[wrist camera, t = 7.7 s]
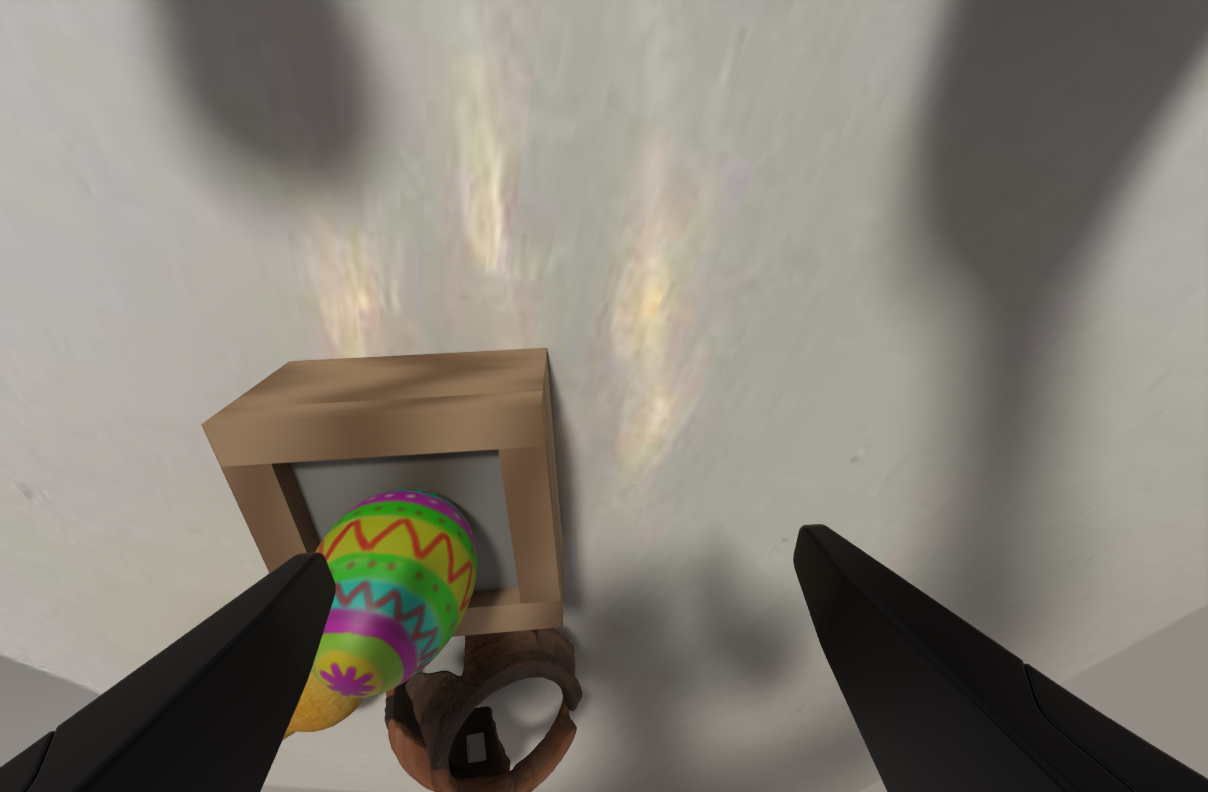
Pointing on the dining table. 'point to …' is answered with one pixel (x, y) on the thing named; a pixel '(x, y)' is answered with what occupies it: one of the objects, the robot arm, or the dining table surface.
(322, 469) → the wooden box
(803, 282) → the dining table surface
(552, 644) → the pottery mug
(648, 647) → the dining table surface
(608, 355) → the dining table surface
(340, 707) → the bread roll
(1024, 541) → the dining table surface
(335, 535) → the egg
